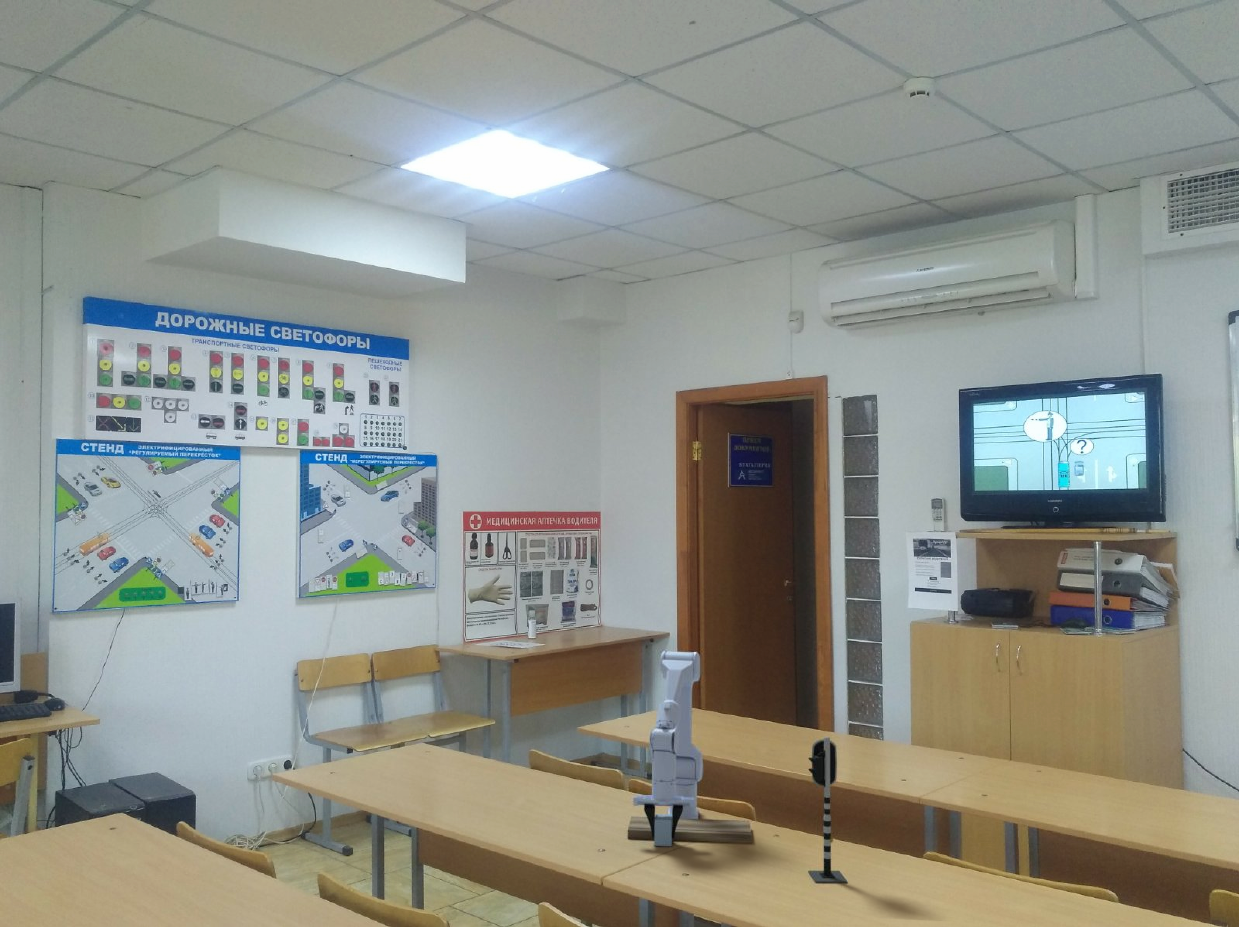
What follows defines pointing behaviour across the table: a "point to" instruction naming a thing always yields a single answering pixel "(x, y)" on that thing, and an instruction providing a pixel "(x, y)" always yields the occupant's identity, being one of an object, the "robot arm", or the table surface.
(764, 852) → the table surface
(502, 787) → the table surface
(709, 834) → the board
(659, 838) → the light blue block
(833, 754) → the miniature traffic light
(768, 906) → the table surface
